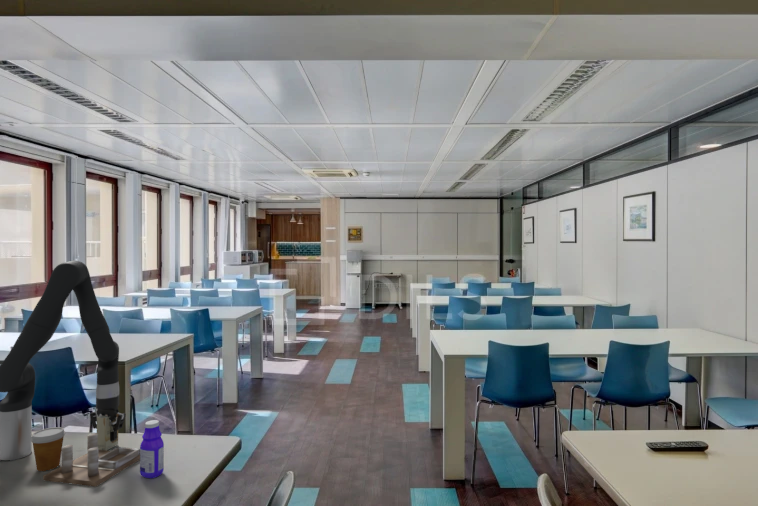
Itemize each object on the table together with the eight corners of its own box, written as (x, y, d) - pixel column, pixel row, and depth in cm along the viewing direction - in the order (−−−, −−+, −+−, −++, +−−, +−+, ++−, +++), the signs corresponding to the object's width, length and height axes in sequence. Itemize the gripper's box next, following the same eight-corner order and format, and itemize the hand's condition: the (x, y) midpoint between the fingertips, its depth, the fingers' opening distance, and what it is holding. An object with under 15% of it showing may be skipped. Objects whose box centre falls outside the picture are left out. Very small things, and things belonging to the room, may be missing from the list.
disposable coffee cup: (71, 463, 155) (71, 429, 155) (41, 476, 147) (41, 439, 147) (55, 458, 159) (54, 424, 159) (24, 470, 151) (24, 434, 151)
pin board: (43, 480, 144) (43, 450, 144) (94, 453, 163) (94, 427, 163) (95, 486, 139) (95, 456, 140) (142, 458, 159) (142, 431, 159)
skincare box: (105, 451, 164) (105, 418, 164) (95, 450, 165) (95, 417, 165) (119, 444, 171) (119, 412, 171) (109, 443, 172) (109, 411, 172)
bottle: (167, 472, 148) (167, 420, 148) (153, 480, 143) (153, 426, 143) (150, 469, 151) (150, 417, 151) (136, 477, 145) (136, 423, 145)
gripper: (83, 396, 166) (83, 442, 166) (116, 399, 163) (116, 446, 163) (99, 390, 173) (99, 434, 173) (131, 392, 170) (131, 437, 170)
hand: (107, 440), depth 168 cm, fingers closed on skincare box, 4 cm apart
